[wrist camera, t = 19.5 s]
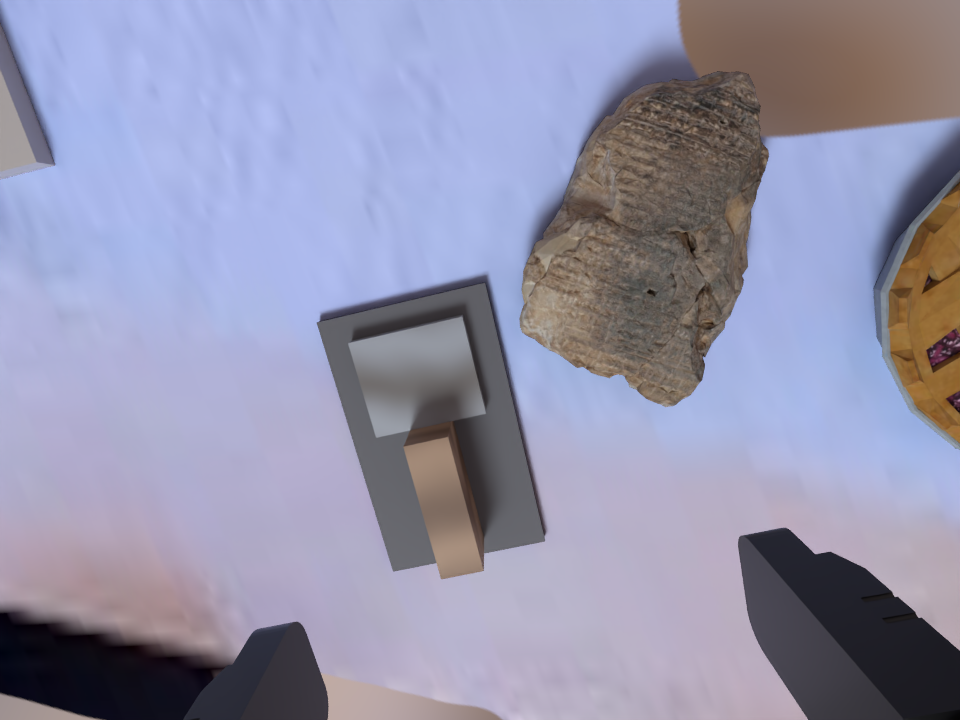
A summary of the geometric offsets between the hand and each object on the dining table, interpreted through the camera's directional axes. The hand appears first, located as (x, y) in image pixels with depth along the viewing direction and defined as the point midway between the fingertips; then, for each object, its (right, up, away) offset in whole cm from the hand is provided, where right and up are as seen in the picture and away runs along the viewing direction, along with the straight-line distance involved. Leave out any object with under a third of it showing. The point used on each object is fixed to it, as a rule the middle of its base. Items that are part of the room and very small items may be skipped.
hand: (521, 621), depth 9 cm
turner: (-4, -1, +29) cm, 29 cm away
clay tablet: (+11, +13, +26) cm, 31 cm away
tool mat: (-4, -1, +29) cm, 29 cm away
